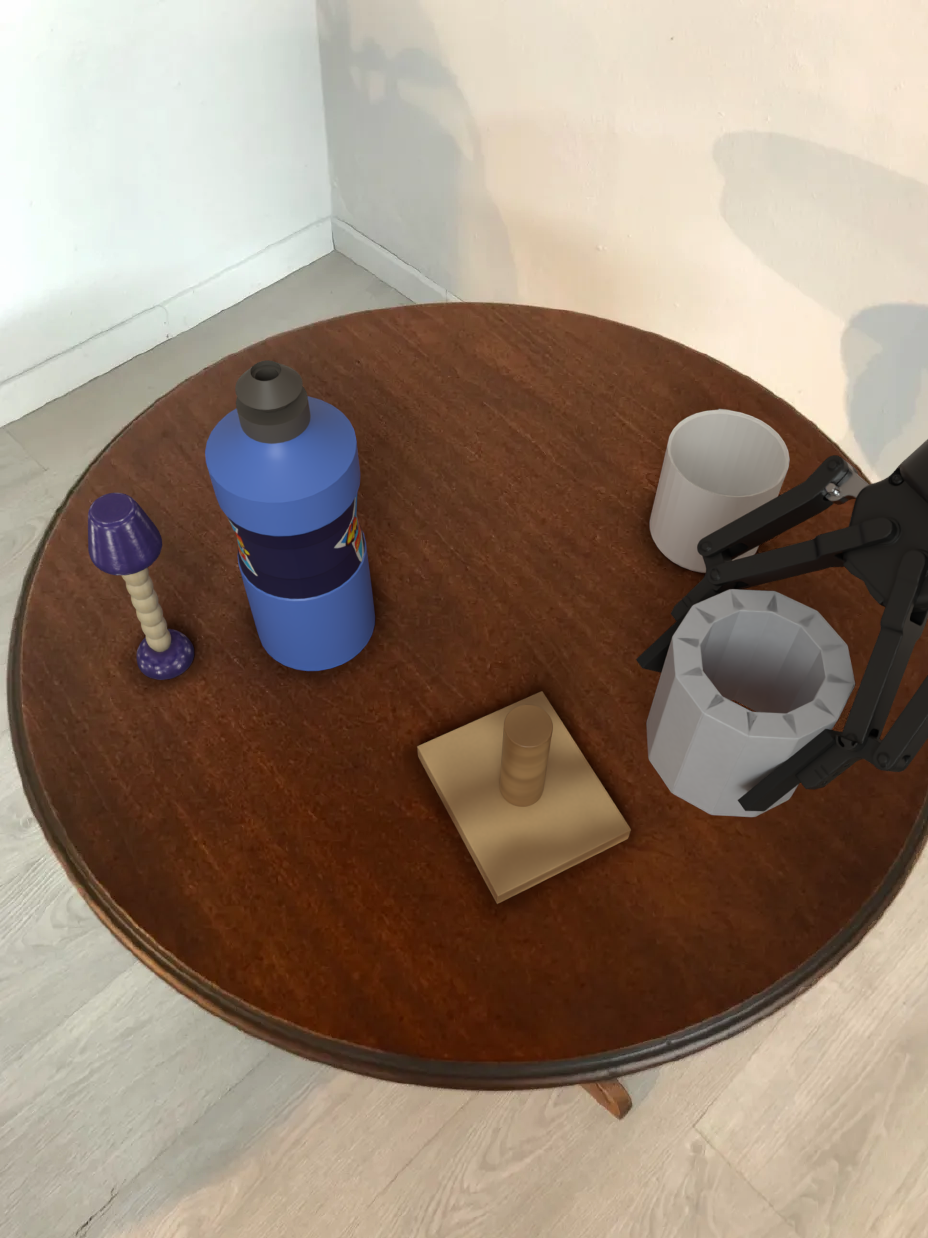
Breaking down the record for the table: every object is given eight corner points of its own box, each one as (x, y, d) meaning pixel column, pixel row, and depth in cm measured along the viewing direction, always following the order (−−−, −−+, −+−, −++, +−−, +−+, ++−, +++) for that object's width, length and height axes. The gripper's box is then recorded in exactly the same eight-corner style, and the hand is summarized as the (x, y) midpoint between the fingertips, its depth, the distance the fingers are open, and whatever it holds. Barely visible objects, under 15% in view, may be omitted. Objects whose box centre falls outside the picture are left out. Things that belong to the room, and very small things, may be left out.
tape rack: (628, 838, 68) (651, 771, 60) (497, 904, 66) (502, 843, 57) (540, 701, 74) (550, 622, 66) (417, 756, 72) (412, 681, 64)
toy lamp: (171, 620, 78) (111, 469, 65) (215, 649, 77) (163, 501, 63) (125, 662, 76) (53, 515, 62) (170, 693, 75) (105, 550, 61)
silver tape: (835, 775, 64) (890, 693, 56) (705, 842, 62) (742, 766, 53) (742, 658, 69) (779, 567, 61) (617, 715, 67) (639, 627, 59)
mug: (746, 588, 80) (777, 510, 73) (636, 556, 82) (654, 477, 74) (775, 484, 87) (806, 402, 79) (672, 456, 89) (692, 374, 81)
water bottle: (372, 568, 81) (343, 312, 61) (381, 666, 76) (352, 421, 56) (255, 579, 81) (186, 324, 60) (256, 678, 75) (180, 435, 55)
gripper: (1191, 635, 50) (839, 891, 58) (884, 361, 62) (629, 608, 70) (1177, 611, 44) (789, 899, 53) (841, 314, 56) (569, 589, 64)
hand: (697, 733), depth 61 cm, fingers closed on silver tape, 10 cm apart
